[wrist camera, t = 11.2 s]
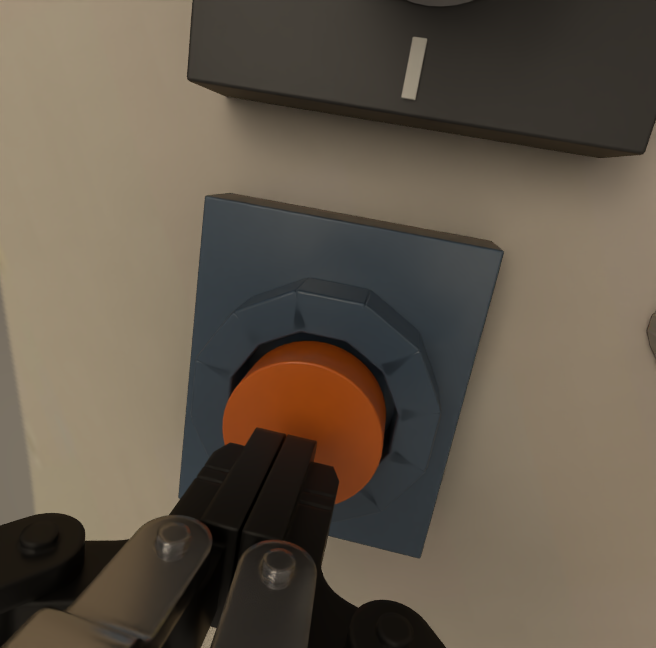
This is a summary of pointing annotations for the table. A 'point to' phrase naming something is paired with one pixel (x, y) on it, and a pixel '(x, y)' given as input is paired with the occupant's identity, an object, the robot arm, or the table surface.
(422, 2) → the knob
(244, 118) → the table surface
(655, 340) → the emergency button
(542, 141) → the dial panel
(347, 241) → the switch block
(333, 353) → the power button
